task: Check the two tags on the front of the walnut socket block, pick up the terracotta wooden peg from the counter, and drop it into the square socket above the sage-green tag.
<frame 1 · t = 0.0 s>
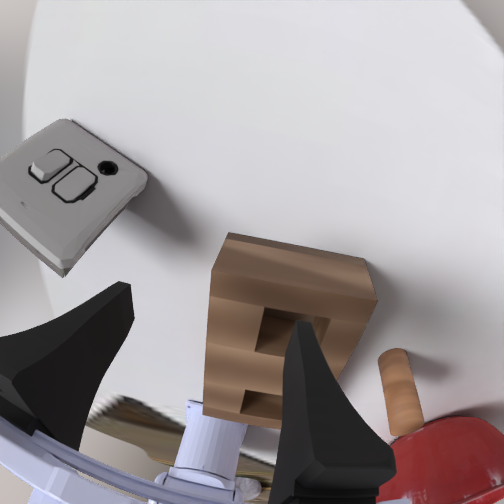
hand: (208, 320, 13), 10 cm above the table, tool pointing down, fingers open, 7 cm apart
peg: (392, 358, 26), on the table
electrical switch: (97, 172, 21), on the table
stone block: (237, 482, 51), on the table
socket block: (275, 331, 26), on the table
mixing bowl: (430, 436, 35), on the table
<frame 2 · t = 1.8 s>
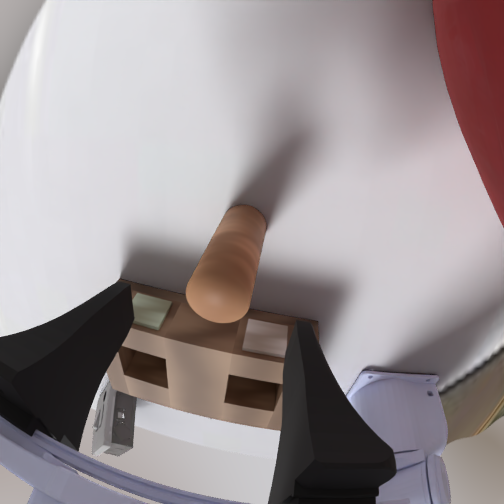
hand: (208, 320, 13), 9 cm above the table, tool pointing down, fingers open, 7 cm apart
peg: (244, 225, 21), on the table
electrical switch: (123, 396, 35), on the table
socket block: (210, 342, 27), on the table
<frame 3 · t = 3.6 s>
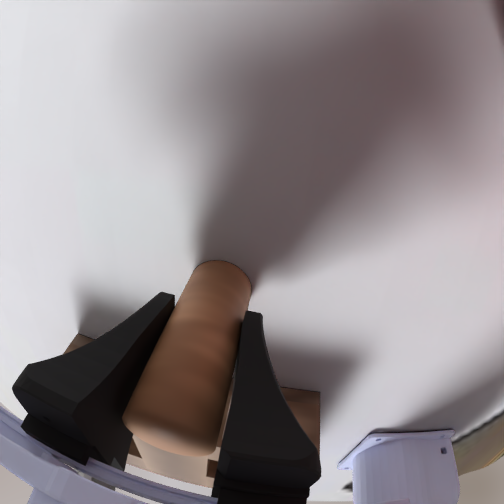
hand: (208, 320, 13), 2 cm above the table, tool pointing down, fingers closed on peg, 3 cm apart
peg: (220, 287, 15), on the table, touching gripper
electrical switch: (104, 437, 29), on the table
socket block: (189, 406, 21), on the table
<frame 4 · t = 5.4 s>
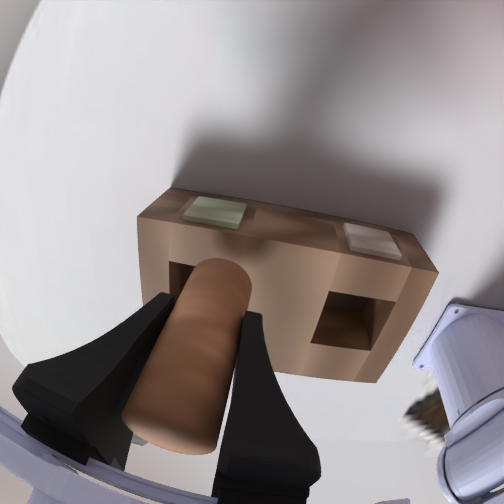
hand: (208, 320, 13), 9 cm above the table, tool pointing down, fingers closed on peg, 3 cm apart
peg: (220, 285, 15), point 7 cm above the table, touching gripper
socket block: (281, 272, 22), on the table
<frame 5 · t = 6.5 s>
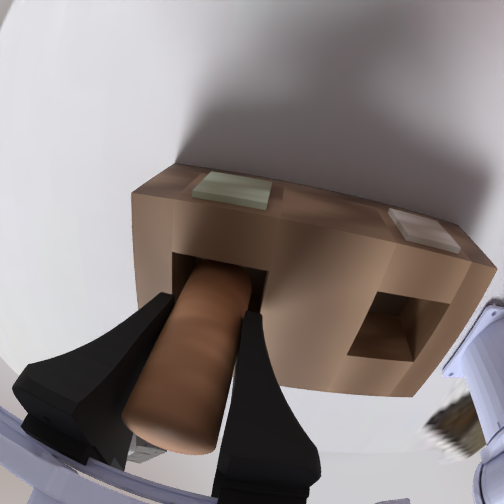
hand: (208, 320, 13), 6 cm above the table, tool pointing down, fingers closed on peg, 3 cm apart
peg: (220, 285, 15), point 4 cm above the table, touching gripper
electrical switch: (147, 378, 27), on the table
socket block: (308, 269, 18), on the table
when the fingers open (6 cm above the table, at t = 7.0 s): peg drops 3 cm, resting on socket block.
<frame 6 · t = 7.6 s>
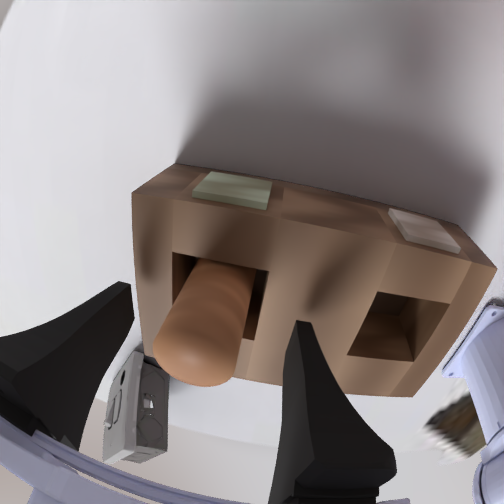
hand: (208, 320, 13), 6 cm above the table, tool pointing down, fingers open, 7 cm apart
peg: (231, 255, 17), point 1 cm above the table, touching socket block
electrical switch: (147, 378, 27), on the table
socket block: (308, 269, 18), on the table
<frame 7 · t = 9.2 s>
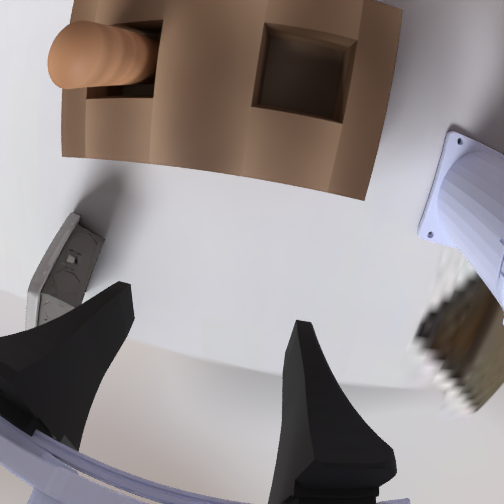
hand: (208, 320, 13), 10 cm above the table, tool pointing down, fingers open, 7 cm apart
peg: (153, 61, 15), point 1 cm above the table, touching socket block
electrical switch: (86, 259, 25), on the table
socket block: (226, 74, 16), on the table
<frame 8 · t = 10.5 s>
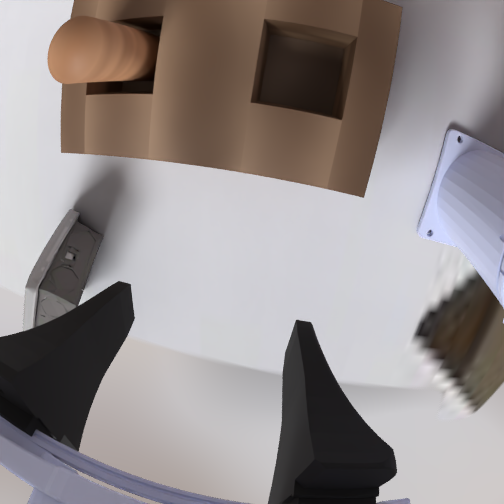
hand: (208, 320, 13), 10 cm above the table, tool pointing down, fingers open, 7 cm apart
peg: (153, 58, 15), point 1 cm above the table, touching socket block
electrical switch: (85, 256, 25), on the table
socket block: (226, 71, 16), on the table
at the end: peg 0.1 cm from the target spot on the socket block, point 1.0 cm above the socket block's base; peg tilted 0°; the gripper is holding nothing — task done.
